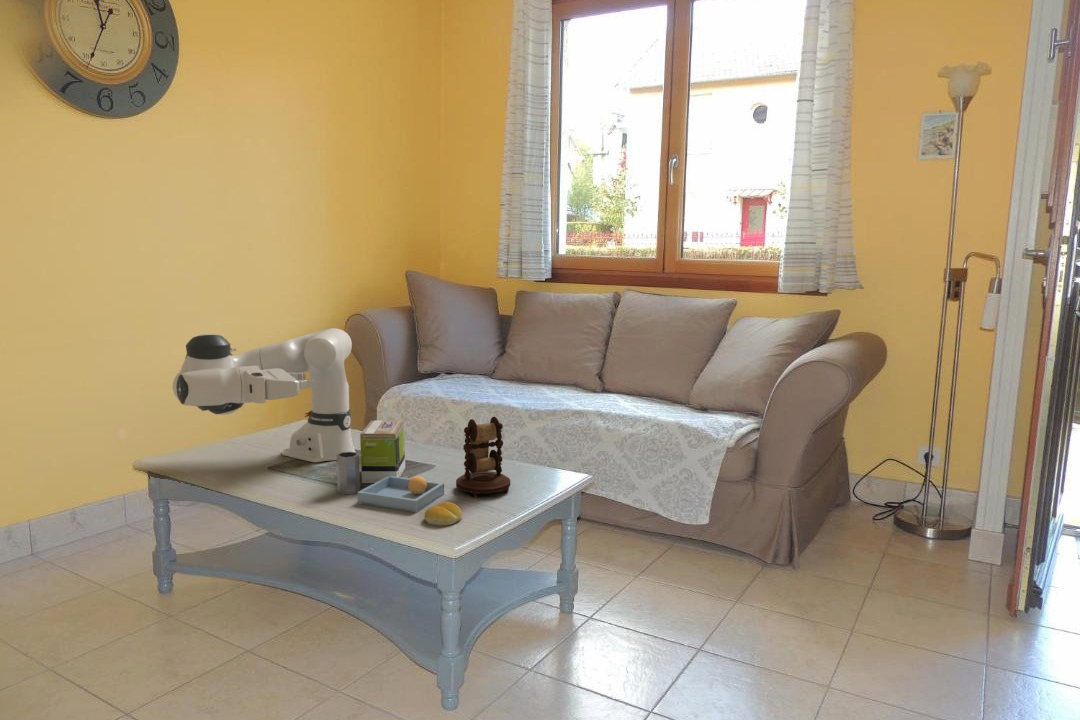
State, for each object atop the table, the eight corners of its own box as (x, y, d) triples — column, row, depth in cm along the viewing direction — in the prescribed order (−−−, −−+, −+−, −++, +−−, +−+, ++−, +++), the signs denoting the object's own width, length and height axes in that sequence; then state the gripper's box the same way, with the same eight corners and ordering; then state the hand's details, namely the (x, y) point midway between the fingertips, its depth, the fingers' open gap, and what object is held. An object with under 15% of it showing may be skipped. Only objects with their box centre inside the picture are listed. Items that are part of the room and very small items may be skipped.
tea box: (372, 467, 226) (371, 419, 224) (406, 468, 226) (405, 419, 224) (360, 484, 212) (359, 432, 209) (397, 484, 212) (396, 432, 209)
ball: (431, 483, 204) (421, 498, 203) (417, 473, 205) (406, 488, 204) (428, 481, 200) (417, 496, 199) (413, 471, 201) (402, 486, 200)
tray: (357, 503, 196) (357, 492, 196) (388, 486, 210) (388, 475, 210) (416, 512, 190) (416, 501, 190) (444, 494, 204) (444, 483, 204)
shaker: (341, 495, 202) (340, 458, 200) (336, 489, 207) (335, 453, 205) (361, 492, 205) (360, 456, 203) (355, 486, 209) (355, 450, 208)
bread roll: (418, 522, 185) (417, 506, 184) (443, 511, 192) (443, 496, 191) (443, 530, 180) (443, 513, 179) (468, 519, 187) (468, 503, 187)
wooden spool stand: (495, 478, 219) (495, 409, 215) (520, 493, 206) (521, 421, 203) (447, 485, 211) (447, 415, 208) (470, 502, 199) (470, 427, 195)
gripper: (244, 389, 195) (300, 384, 202) (259, 405, 177) (320, 399, 184) (243, 364, 194) (299, 361, 201) (258, 378, 176) (319, 373, 183)
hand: (309, 379), depth 192 cm, fingers open, 8 cm apart
